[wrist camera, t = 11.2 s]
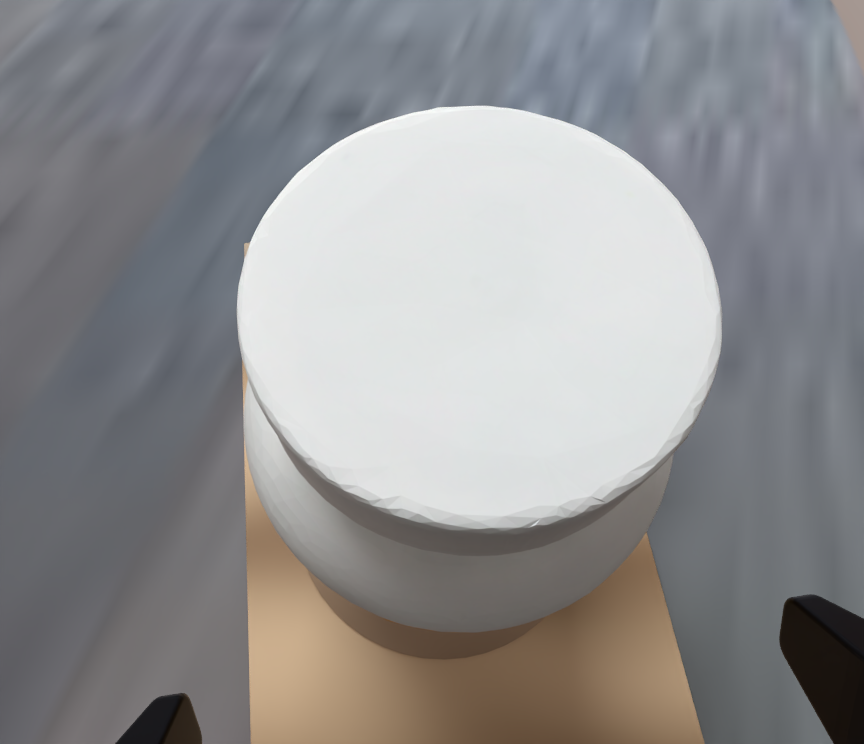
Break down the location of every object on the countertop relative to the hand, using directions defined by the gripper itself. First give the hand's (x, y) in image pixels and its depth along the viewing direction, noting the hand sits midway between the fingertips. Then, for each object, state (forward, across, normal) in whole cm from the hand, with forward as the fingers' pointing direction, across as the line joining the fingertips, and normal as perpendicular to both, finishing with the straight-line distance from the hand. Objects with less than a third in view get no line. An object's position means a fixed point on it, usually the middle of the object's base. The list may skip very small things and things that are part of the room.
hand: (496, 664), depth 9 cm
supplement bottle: (+9, 0, +3) cm, 10 cm away
